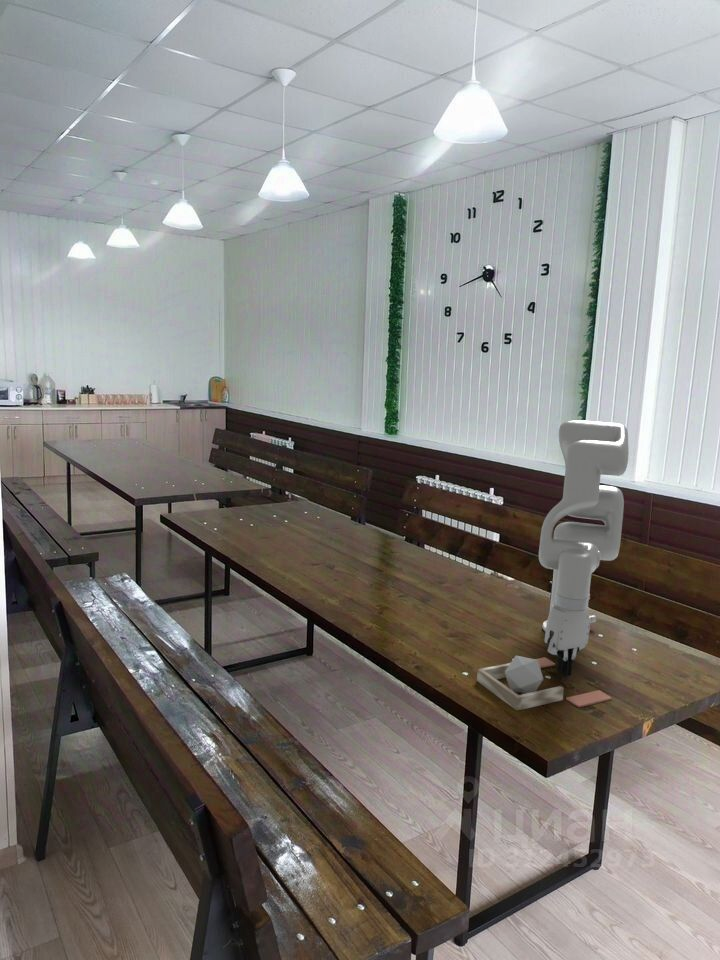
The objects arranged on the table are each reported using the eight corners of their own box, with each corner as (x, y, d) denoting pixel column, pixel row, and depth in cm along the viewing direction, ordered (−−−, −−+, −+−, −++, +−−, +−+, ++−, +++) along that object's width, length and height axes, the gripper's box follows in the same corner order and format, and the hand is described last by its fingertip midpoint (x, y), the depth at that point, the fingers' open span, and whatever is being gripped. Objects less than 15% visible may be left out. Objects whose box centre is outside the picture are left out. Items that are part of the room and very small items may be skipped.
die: (545, 690, 167) (529, 651, 171) (552, 689, 159) (535, 647, 162) (513, 702, 167) (497, 662, 170) (518, 701, 159) (501, 659, 162)
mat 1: (544, 658, 183) (545, 657, 183) (555, 665, 180) (555, 663, 180) (513, 664, 179) (513, 663, 179) (523, 671, 175) (523, 669, 175)
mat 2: (599, 691, 167) (599, 690, 167) (611, 699, 163) (611, 697, 163) (566, 699, 162) (566, 697, 162) (578, 707, 159) (578, 705, 159)
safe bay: (520, 672, 175) (521, 660, 174) (562, 700, 162) (563, 687, 161) (476, 681, 169) (477, 669, 169) (516, 710, 156) (517, 698, 156)
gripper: (584, 592, 174) (576, 661, 178) (535, 600, 168) (529, 672, 172) (607, 603, 168) (598, 674, 171) (557, 611, 161) (550, 686, 165)
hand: (564, 673), depth 172 cm, fingers closed
